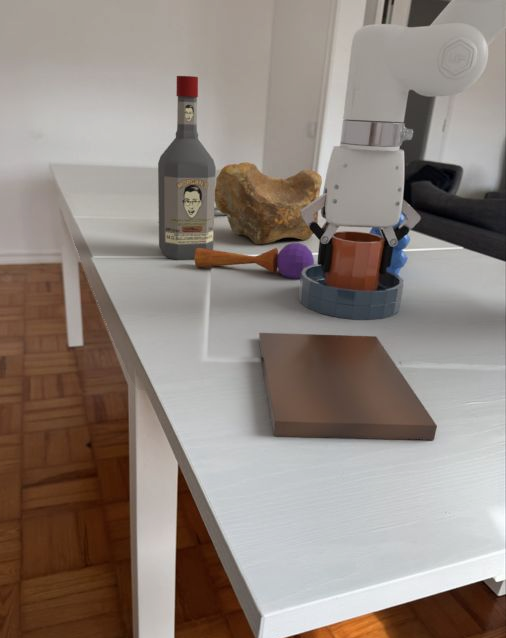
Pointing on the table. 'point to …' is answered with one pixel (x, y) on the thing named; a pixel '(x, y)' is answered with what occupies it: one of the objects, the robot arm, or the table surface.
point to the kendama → (262, 259)
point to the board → (339, 389)
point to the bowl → (350, 296)
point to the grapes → (396, 249)
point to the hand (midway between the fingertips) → (352, 270)
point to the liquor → (186, 183)
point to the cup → (355, 260)
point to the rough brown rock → (266, 202)
